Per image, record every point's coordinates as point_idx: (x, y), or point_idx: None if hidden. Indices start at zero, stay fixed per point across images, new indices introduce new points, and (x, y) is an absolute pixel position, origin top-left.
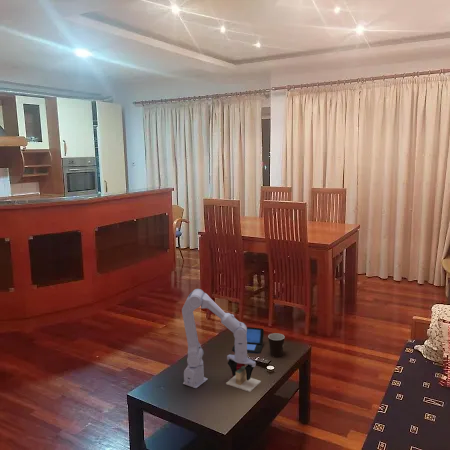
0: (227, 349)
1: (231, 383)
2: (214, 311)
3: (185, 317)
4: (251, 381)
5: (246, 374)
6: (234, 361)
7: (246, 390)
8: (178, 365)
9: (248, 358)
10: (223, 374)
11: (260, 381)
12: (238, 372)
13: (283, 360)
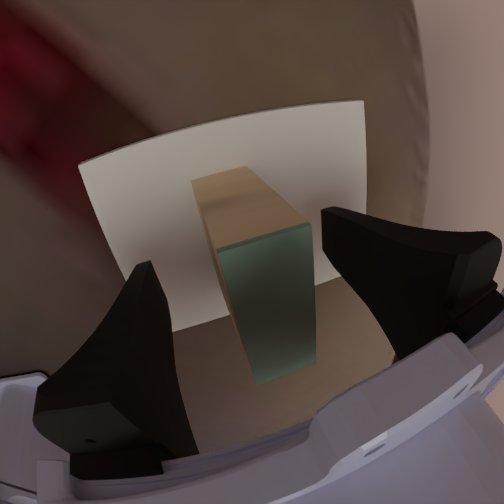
0: None
1: (191, 313)
2: None
3: None
4: (305, 165)
5: (363, 300)
6: (171, 447)
7: (335, 274)
8: None
9: (498, 368)
10: (12, 264)
11: (363, 110)
12: (294, 370)
13: None
